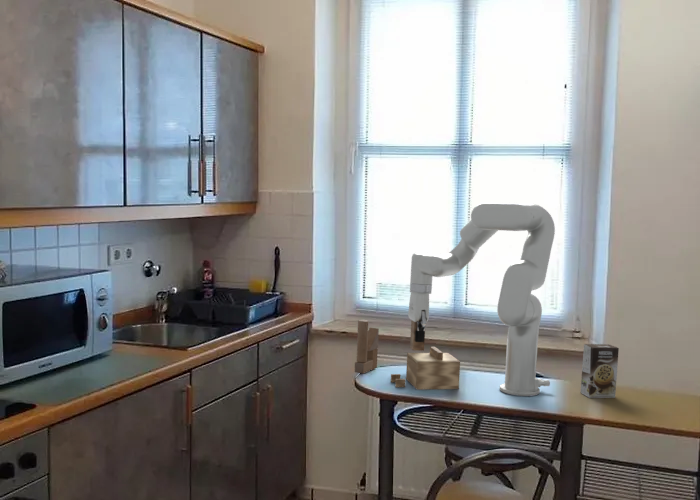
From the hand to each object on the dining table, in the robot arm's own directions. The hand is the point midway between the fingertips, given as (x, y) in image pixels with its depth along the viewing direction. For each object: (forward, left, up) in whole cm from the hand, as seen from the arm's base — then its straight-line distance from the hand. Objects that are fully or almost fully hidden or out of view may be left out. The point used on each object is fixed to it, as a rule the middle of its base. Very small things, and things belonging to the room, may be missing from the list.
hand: (417, 339), depth 266 cm
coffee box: (-50, +34, -11) cm, 62 cm away
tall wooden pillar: (0, 0, -3) cm, 3 cm away
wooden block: (+18, -2, -11) cm, 21 cm away
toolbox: (+3, +18, -11) cm, 21 cm away
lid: (0, +18, -3) cm, 18 cm away
